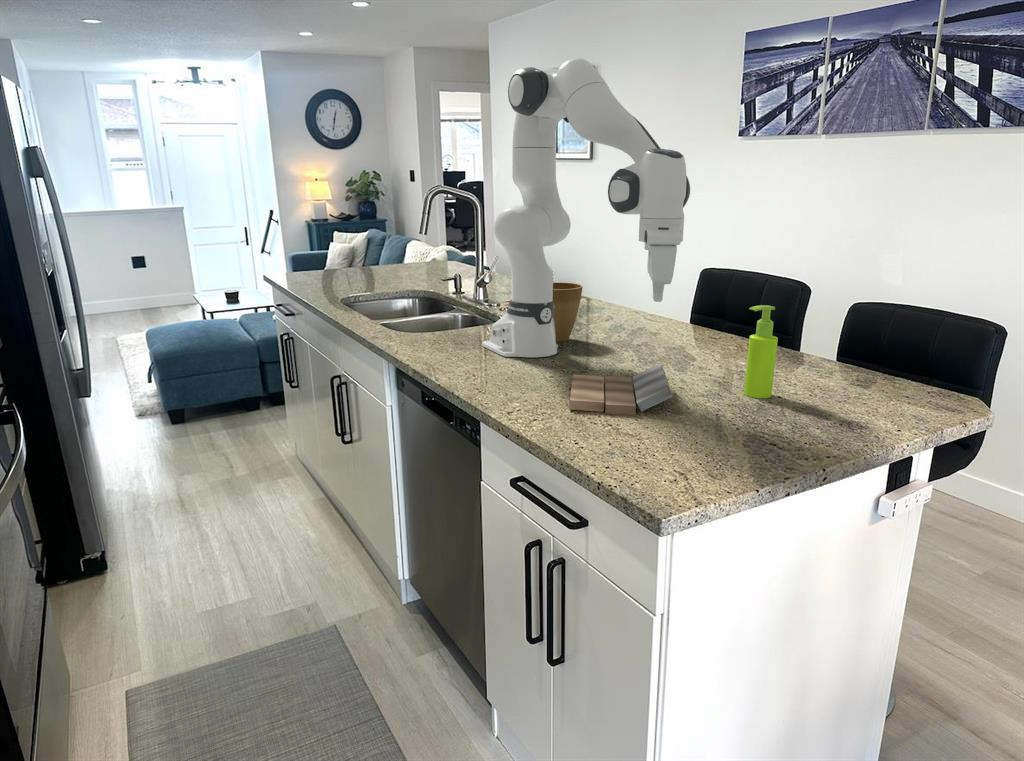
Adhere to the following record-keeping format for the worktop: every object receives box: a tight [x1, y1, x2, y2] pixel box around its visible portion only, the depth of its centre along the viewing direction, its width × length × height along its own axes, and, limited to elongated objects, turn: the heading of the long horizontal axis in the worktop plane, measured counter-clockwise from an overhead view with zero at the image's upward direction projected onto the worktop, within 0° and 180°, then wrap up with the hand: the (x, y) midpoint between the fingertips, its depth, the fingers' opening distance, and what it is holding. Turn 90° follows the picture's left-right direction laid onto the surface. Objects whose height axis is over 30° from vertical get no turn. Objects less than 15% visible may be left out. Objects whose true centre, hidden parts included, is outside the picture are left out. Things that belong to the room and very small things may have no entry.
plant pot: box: [553, 281, 583, 343], centre depth 211 cm, size 15×15×16 cm
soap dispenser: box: [743, 304, 779, 399], centre depth 159 cm, size 6×7×20 cm
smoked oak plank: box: [568, 374, 605, 413], centre depth 158 cm, size 20×7×2 cm, turn 174°
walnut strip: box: [604, 375, 637, 416], centre depth 157 cm, size 22×6×2 cm, turn 174°
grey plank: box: [631, 363, 674, 413], centre depth 156 cm, size 20×7×2 cm, turn 173°
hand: (657, 300), depth 150 cm, fingers closed
